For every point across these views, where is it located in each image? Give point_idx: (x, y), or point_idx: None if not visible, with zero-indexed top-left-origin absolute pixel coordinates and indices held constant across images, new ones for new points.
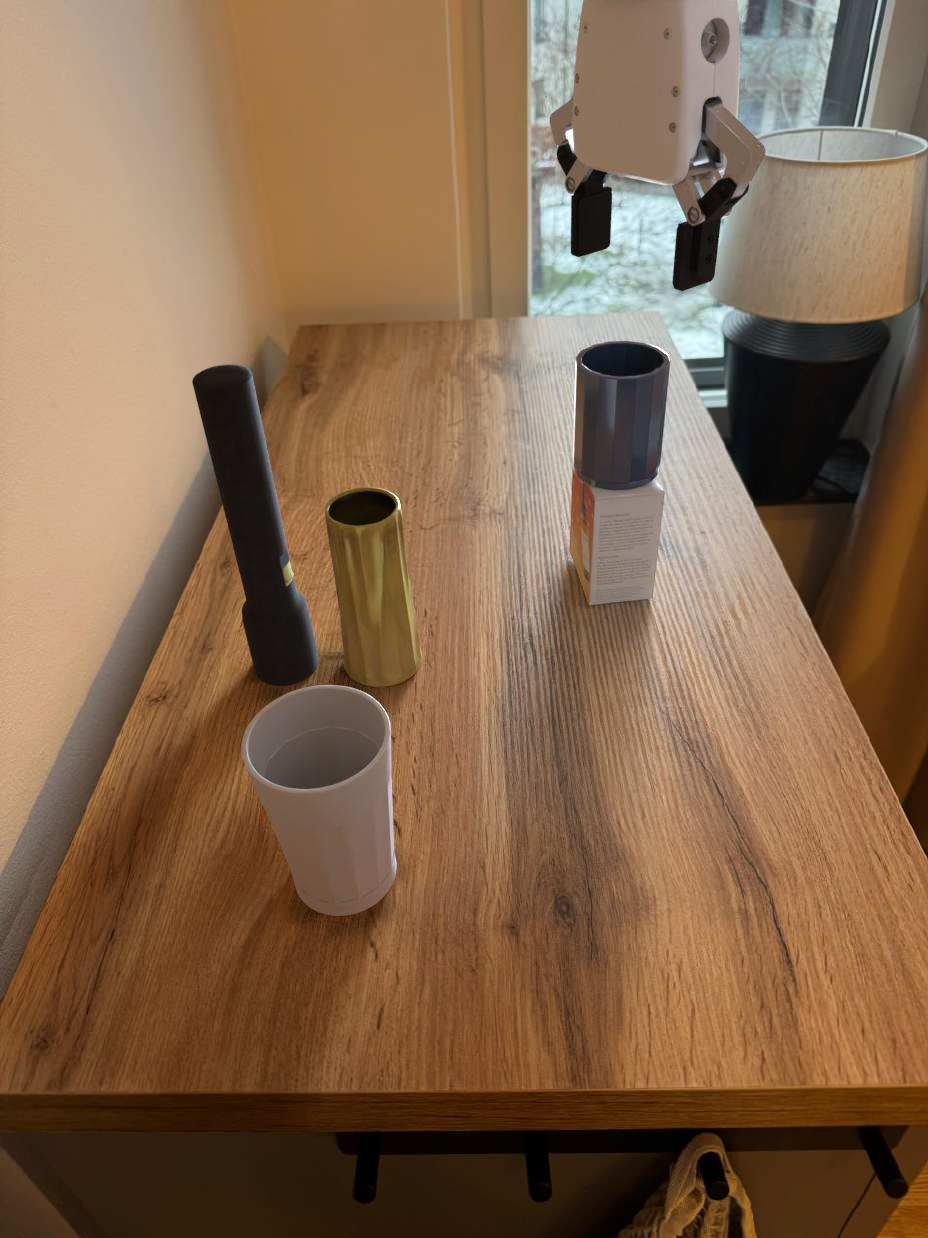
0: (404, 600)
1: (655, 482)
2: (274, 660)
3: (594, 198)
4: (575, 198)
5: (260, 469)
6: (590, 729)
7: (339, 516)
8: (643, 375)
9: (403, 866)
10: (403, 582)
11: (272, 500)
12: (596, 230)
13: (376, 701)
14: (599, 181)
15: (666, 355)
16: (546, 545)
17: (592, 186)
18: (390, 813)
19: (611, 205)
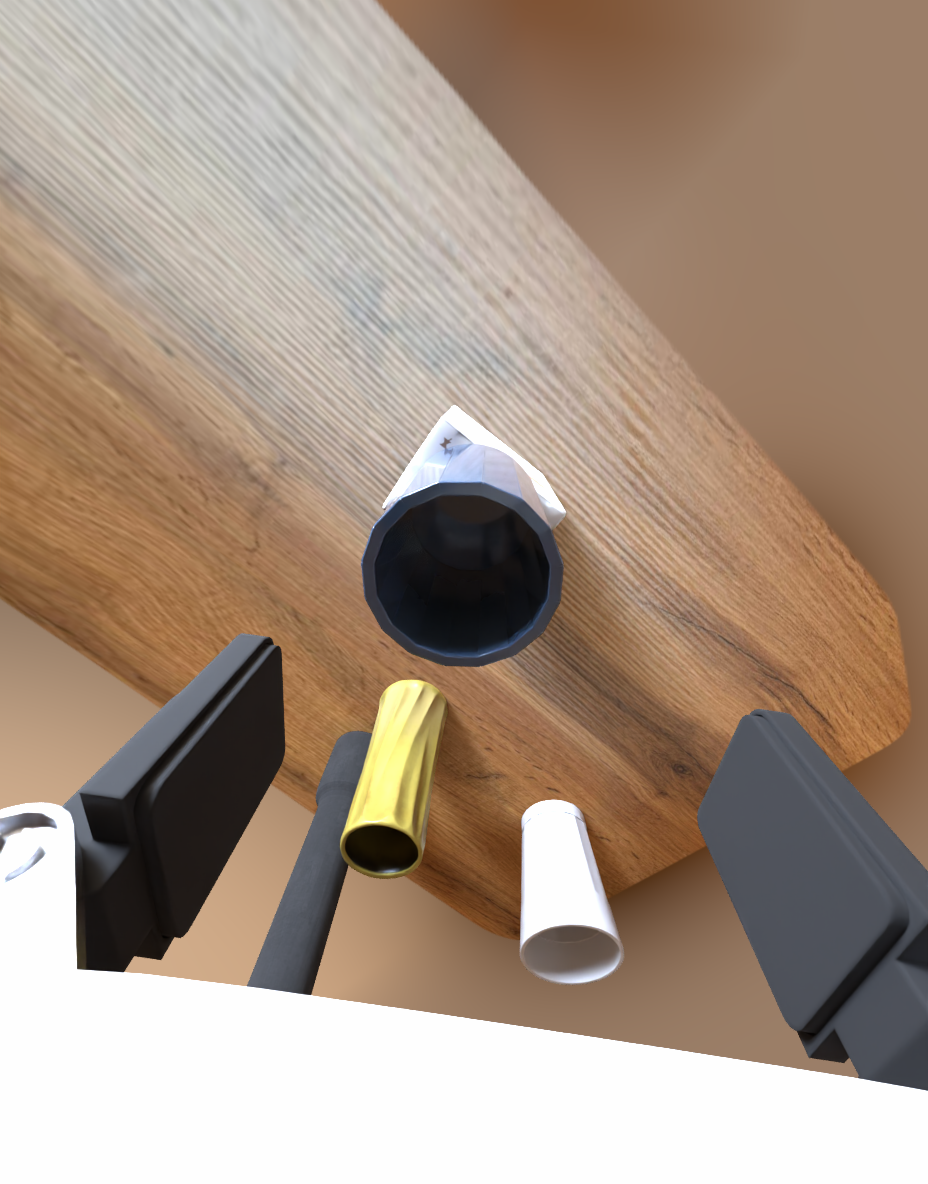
0: (434, 758)
1: (541, 502)
2: None
3: (179, 873)
4: (164, 952)
5: (316, 964)
6: (604, 655)
7: (352, 833)
8: (544, 615)
9: (578, 803)
10: (431, 773)
11: (326, 914)
12: (249, 744)
13: (580, 924)
14: (99, 908)
15: (525, 507)
16: (377, 475)
17: (125, 927)
18: (589, 858)
19: (195, 742)
